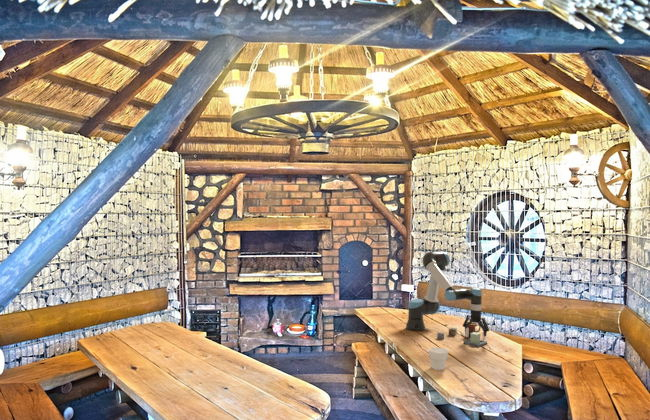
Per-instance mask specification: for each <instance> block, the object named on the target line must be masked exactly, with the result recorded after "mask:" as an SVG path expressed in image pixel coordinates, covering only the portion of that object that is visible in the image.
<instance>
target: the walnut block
mask: <svg viewBox="0 0 650 420" xmlns="http://www.w3.org/2000/svg"><path fill="white" fill-rule="evenodd" d="M457 330H458V329H457V327H448V336H451V335H452V337H456V336H457ZM455 335H456V336H455Z"/></svg>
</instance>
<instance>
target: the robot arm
mask: <svg viewBox="0 0 650 420" xmlns="http://www.w3.org/2000/svg"><path fill="white" fill-rule="evenodd" d="M450 263H451V260H450V256H449V254H448V253H447V252H446V251H442V250H441V251H429V252H426V253H425V254H424V255H423V257H422V264H423V267H424V269H425V271H427V272H429V274H430V277H429V281H428V286H427V290H426V295H425V296H424V297H423V299H422V298H414V299H410V300H409V301H408V306H407V308H408V312H407V313H408V318H407V322H406V325H405V329H406V330H407V331H411V332H424V331H425V330H426V326H425V322H424V316H428V315H435V314H437V313H439V311H440V310H441V305H440V302H439V299H438V295H439V289H440V288H441V289H442V291H443V292H444V297H445V300H446V301H448V302H449V301H450V302H453V301H461V300H462V301H463V300H468V301H470V314H466V317H465V320H464V322H463V324H462V327H463V328H464V333H465V332H466V336H465V338H470V337H469V328H467V327H468V326H469V325H470V324H471V323H472V322H474V323H476V324H479V325H480V326H481V328H480V329H482V339H481V340H482V341H486V337H487V332H490V329H489V326H488V324H487V321H486V317H482V300H483V298H482V296H483V293H482V289H481V288H479V287H471V289H468V288H463V287H461V288H459V289H456V288H455V287H454V286H453V284H452V283H451V281H450V280H449V279H448V278H447V276H445V274H444V271H445V270H446V267H447V266H449V265H450ZM467 322H468V324H467ZM466 324H467V325H466Z"/></svg>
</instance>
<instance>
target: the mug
mask: <svg viewBox="0 0 650 420" xmlns="http://www.w3.org/2000/svg"><path fill="white" fill-rule="evenodd" d="M468 322H469V321H468ZM468 322H467V324H468ZM467 324H466V325H467ZM476 327H479V328H478V330H476ZM467 328H469V337H468V338H470V336H471V333H473V332H476V333H480V331H481V329H482V328H481V326H480V325H479V324H478V323H475V322H472V323H471V324H470V325H469V326H468V327H467ZM464 333H465V334H464V335H465V337H466V332H465V331H464Z"/></svg>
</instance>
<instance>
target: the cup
mask: <svg viewBox="0 0 650 420" xmlns="http://www.w3.org/2000/svg"><path fill="white" fill-rule="evenodd" d="M448 357H449V349H447V348H444V347H437V346H436V347H434V346H433V347H430V348H428V358H429V360H430V365H431V367H430V368H431V369H433V370H435V371H436V370H437V371H443V370H445V369H446V363H447V359H448Z"/></svg>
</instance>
